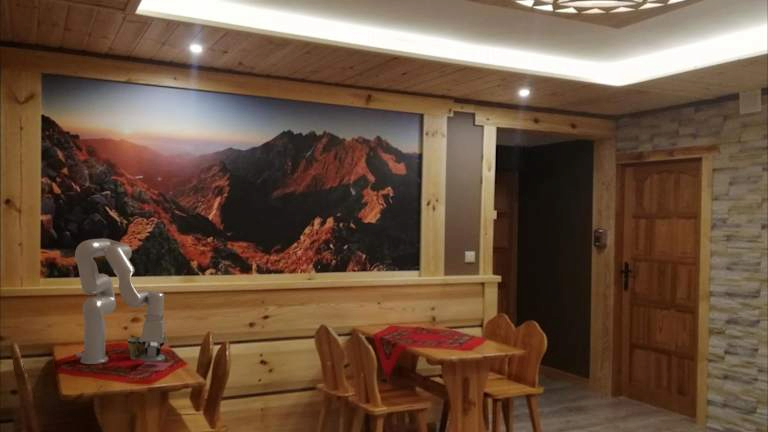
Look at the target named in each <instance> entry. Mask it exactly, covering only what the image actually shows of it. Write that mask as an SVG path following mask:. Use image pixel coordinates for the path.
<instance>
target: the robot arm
mask: <svg viewBox="0 0 768 432" xmlns="http://www.w3.org/2000/svg"><path fill="white" fill-rule="evenodd" d="M132 252H133V250H132V249H131V247H130V246H129V244H126V243H123V242H121V241H120V242H119V241H116V240H112V239H110V238H104V237H103V238H91V239H87V240H84V241H82V242H80V243H79V244H78V246H77V247H76V249H75V254H74V257H75V258H74V259H75V261H76V264H77V269H78V273H79V279H80V285H81V289H82V292H83V293H84V294H85V295H89V296H92V295H96V296H93V297H90V298H88V299H86V300H85V301H84V302H83V305H82V314H83V320H84V321H83V322H84V323H83V325H84V328H83V329H84V336H83V338H84V339H83V343H84V345H83V352H80V351H79V352H78V351H77V352H76V353H75V354H76V358H80V363H81V364H85V365H98V364H103V363H107V362H108V361H109V357H108V356H106V320H105V318H104V315H107V314H111V313H112V312H114V310H115V309H116V306H117V302H116V301H117V300H116V295H115V290H114V285H113V284H114V283H113V281H112V278H111V277H110V276H109V275H108V274H105V273H99V270H98V265H97V263H96V261H95V260H94V257H100V256H104V258H105V259H106V260H107V262H108V264H109V265H110V267H111V269H112V270H113V272H114V273H115V275H116V276H117V280H118V281H117V284H118V286H117V287H118V291H119V293H120V296H121V297H122V299H123V300H124V302H125V304H127V305H128V306H129V308H134V309H135V308H139V307H140V308H141V307H143V306H144V307H145V306H146V314H144V315H143V318H145V320H144V322H143V327H142V333H141V336H140V337H141V338H140V339H139V341H140V342H142V343H143V344H144V346H145V347H146V354H145V355H146V356H147V354H148V347H149V346H150V342H157V349H156V356H157V357H158V356H159V355H160V354H161V352H162V347H163V346H164V345H166V344H168V343H169V340H168V338H167V335H166V324H165V319H164V312H165V311H164V309H165V294H164V293H163V292H162V291H152V290H150V289H141V290H136V289H135V287H134V286H133V283H132V275H133V274H134V273H135V266H133V264H132V262H131V261H130V258H131V257H132ZM161 355H162V354H161Z"/></svg>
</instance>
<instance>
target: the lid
mask: <svg viewBox="0 0 768 432" xmlns="http://www.w3.org/2000/svg"><path fill="white" fill-rule="evenodd" d="M156 349H157V346H154V345H150V346H149V347H148V354H147V356H146V354H145V355H143V356H141V359H140V360H141V361H142V362H145V363H146V362H154V363H159V362H163V361H165V359H166V356H165V355H164V354H160V355H159V356H158V357H157V356H156Z"/></svg>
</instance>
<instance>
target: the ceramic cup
mask: <svg viewBox="0 0 768 432" xmlns="http://www.w3.org/2000/svg"><path fill="white" fill-rule="evenodd" d="M140 338H141V336H134V337H130V338H128V339H127V345H128V348H129V349H128V350H129V357H130V360H136V361H137V360H138V361H139V360H141V356H143V355H146V347H145V346H144V344H143V343H142V342H140V341H139V339H140Z"/></svg>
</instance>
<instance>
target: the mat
mask: <svg viewBox="0 0 768 432" xmlns="http://www.w3.org/2000/svg"><path fill="white" fill-rule="evenodd" d="M172 364H173V362H146V361H145V362H143V364H141V365H140V366H139V367H137V368H136V370H141V371H142V370H144V371H164V370H167V368H168V367H170V366H171V365H172Z"/></svg>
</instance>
